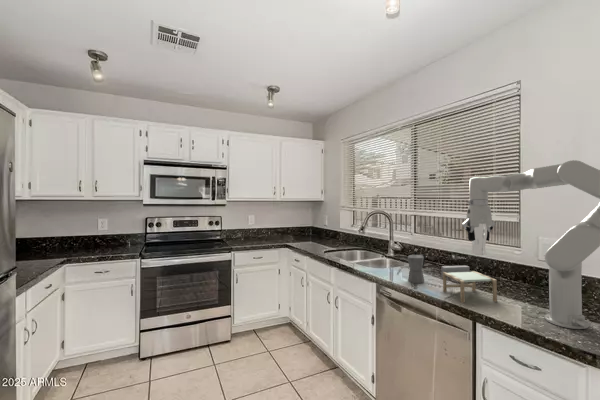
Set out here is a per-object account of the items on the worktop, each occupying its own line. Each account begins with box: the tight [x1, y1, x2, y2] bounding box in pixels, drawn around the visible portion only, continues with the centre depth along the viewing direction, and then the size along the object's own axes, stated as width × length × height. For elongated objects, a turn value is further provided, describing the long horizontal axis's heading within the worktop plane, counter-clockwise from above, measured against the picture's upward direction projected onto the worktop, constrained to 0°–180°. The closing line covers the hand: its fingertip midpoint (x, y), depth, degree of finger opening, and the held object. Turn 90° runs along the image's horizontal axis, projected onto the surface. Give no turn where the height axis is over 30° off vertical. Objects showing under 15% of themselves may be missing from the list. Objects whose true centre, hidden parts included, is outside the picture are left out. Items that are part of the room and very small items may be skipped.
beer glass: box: [470, 224, 487, 257], centre depth 137 cm, size 7×7×15 cm
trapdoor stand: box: [442, 270, 498, 304], centre depth 147 cm, size 17×17×10 cm
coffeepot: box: [407, 251, 426, 284], centre depth 175 cm, size 15×9×18 cm, turn 121°
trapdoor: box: [440, 265, 492, 283], centre depth 150 cm, size 20×14×5 cm
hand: (478, 240), depth 137 cm, fingers closed on beer glass, 6 cm apart
